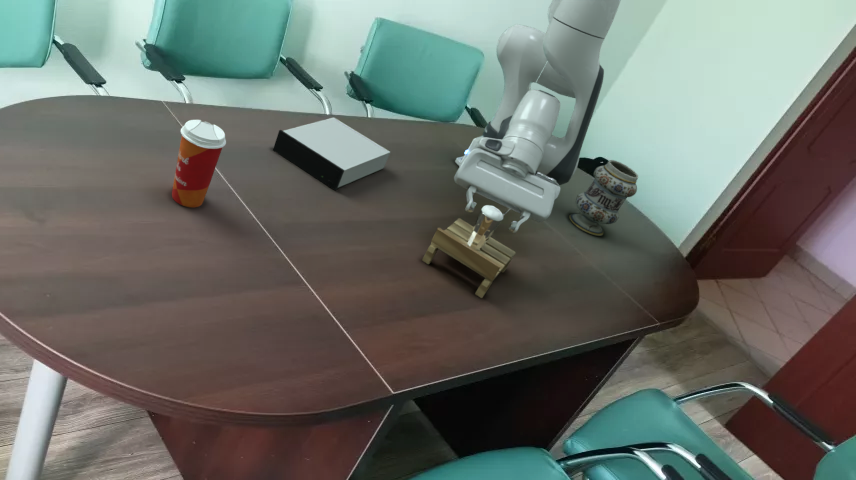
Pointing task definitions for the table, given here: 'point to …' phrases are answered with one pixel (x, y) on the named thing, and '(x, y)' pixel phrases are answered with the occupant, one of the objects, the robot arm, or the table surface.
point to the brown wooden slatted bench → (471, 253)
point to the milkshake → (485, 226)
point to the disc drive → (331, 151)
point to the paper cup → (196, 161)
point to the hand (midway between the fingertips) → (490, 221)
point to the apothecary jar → (604, 197)
